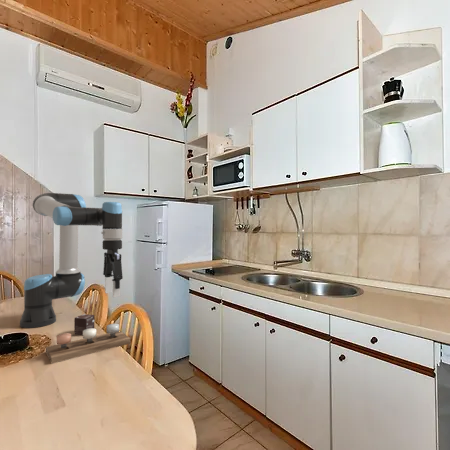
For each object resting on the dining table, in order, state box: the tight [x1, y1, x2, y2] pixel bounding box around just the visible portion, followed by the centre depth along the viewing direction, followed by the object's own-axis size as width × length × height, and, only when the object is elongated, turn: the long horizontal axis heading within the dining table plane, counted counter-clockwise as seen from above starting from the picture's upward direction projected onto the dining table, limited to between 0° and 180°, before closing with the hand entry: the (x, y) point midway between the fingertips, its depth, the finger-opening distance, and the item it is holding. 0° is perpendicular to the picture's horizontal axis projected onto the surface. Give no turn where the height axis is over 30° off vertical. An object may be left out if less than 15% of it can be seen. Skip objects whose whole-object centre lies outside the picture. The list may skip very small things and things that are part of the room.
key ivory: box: [82, 327, 97, 343], centre depth 117 cm, size 5×5×4 cm
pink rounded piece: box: [56, 332, 72, 348], centre depth 111 cm, size 5×5×4 cm
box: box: [73, 313, 95, 336], centre depth 134 cm, size 6×6×7 cm
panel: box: [45, 330, 131, 364], centre depth 117 cm, size 12×28×2 cm, turn 129°
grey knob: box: [106, 323, 120, 337], centre depth 122 cm, size 5×5×4 cm
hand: (112, 294), depth 122 cm, fingers open, 9 cm apart
